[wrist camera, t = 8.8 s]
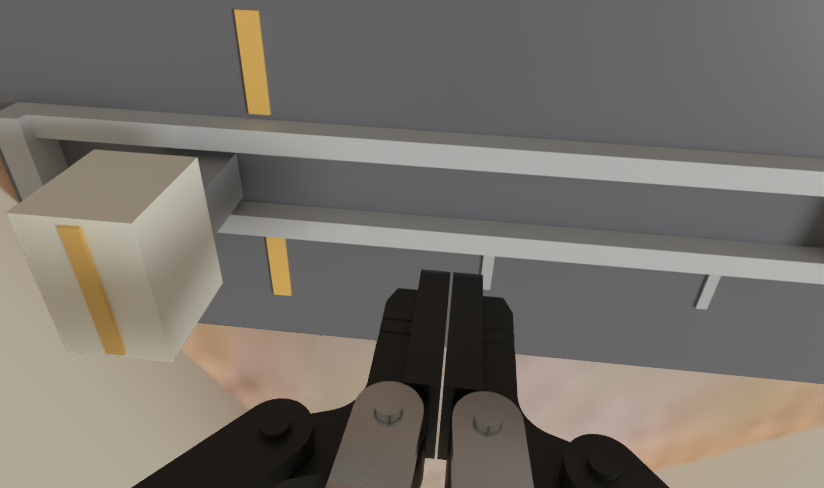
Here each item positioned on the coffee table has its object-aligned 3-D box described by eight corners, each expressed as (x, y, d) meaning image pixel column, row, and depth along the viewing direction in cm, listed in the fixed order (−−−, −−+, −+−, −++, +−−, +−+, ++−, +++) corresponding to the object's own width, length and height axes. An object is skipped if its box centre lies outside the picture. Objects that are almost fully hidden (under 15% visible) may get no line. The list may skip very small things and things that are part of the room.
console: (-47, -92, 18) (-148, -85, 15) (1037, -44, 15) (1160, -24, 13) (91, 282, 26) (44, 331, 23) (805, 348, 24) (848, 412, 21)
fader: (150, 109, 18) (1, 215, 13) (239, 115, 18) (128, 226, 12) (177, 223, 21) (63, 354, 15) (256, 229, 21) (170, 365, 15)
